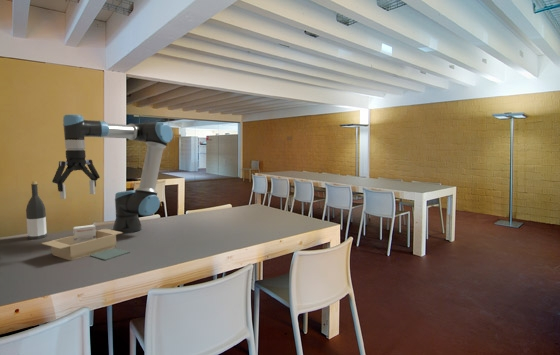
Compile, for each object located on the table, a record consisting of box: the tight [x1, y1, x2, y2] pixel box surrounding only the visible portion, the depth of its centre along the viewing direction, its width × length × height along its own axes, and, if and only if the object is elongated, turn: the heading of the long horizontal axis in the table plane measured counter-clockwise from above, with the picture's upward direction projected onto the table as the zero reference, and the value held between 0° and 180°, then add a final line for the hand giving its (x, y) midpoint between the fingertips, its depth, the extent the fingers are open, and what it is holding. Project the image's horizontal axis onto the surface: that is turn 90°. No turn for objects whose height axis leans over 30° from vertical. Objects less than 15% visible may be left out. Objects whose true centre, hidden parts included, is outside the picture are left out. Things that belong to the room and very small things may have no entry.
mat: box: [89, 247, 131, 261], centre depth 146 cm, size 12×11×1 cm
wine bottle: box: [25, 180, 47, 240], centre depth 169 cm, size 8×8×30 cm
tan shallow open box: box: [41, 228, 124, 261], centre depth 150 cm, size 29×15×6 cm, turn 152°
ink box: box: [72, 224, 97, 244], centre depth 149 cm, size 9×5×12 cm, turn 129°
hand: (78, 196), depth 146 cm, fingers open, 13 cm apart
